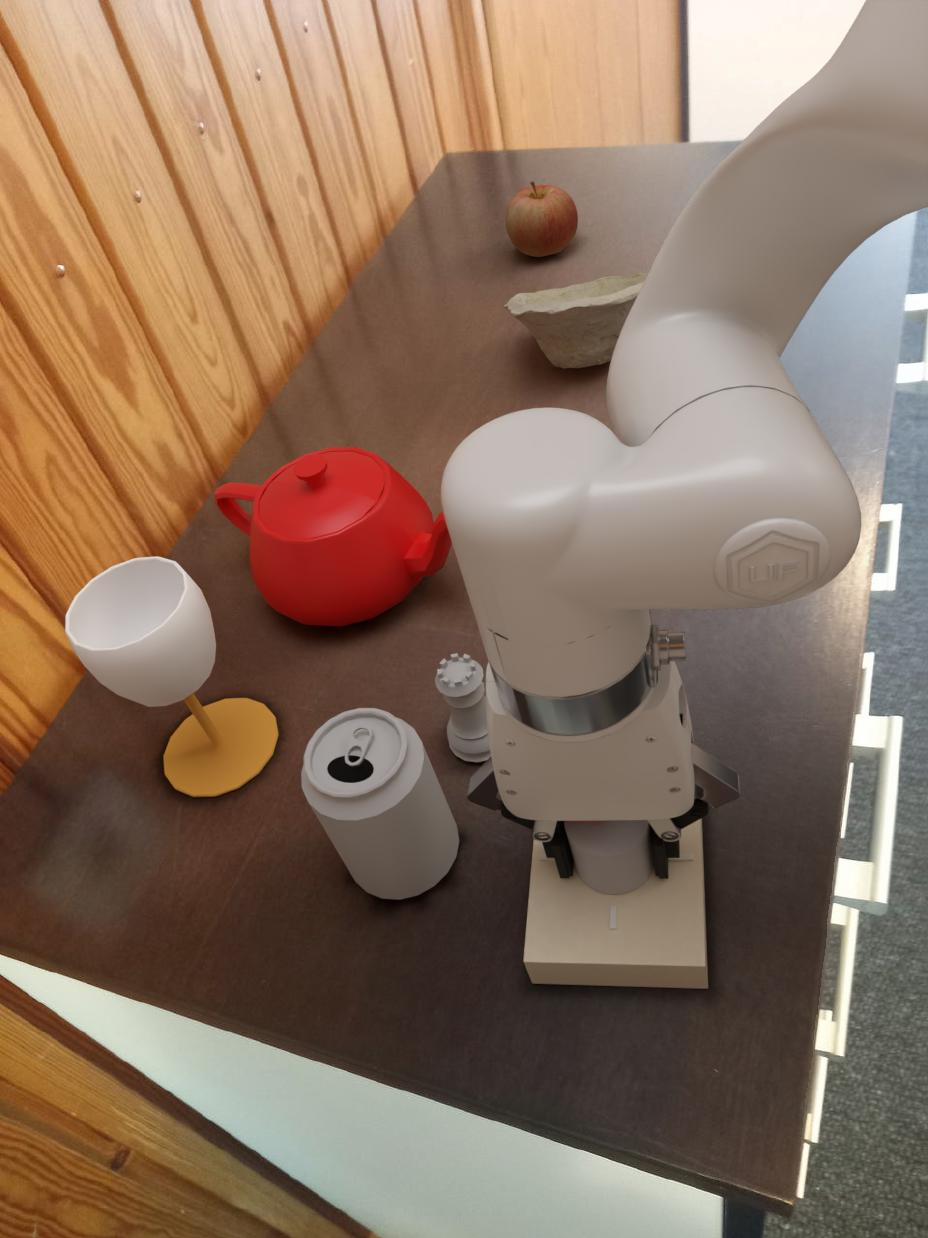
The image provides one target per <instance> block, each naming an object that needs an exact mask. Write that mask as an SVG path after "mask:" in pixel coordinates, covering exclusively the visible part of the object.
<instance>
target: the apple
mask: <svg viewBox="0 0 928 1238" xmlns="http://www.w3.org/2000/svg"><path fill="white" fill-rule="evenodd" d="M529 183H530V185H531V186H527V187H524V188H522V189H520V190H519V191H518V192H516V193H515V195H514V196H513V197H512V198H511V199H510V201H509V202H508V204H507V207H506V211H505V229H506V233H507V236H508V238H509V240H510V242H511V243H512V244H513V246H514V247H515V248H516V249H517V250H518V251H519V252H521V253H523V255H527V256H530V257H536V258H541V257H542V258H543V257H546V256H551V255H556V254H558V253H560V252H562V251H563V250H564V249H566V248H567V247H568V246H569V244H571V242H572V241H573V239H574V238H575V236H576V234H577V229H578V224H579V217H578V210H577V205H576V203H575V202H574V199H573V198H572V197H571V195H570V194H569V193H568V192H567V191H565V190H564V189H562V188H560V187H558V186H555V185H549V184H537V185H536V184H535V181H533V180H531V181H530V182H529Z"/></svg>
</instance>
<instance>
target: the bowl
mask: <svg viewBox="0 0 928 1238" xmlns="http://www.w3.org/2000/svg"><path fill="white" fill-rule="evenodd" d="M647 275H648V273H645V272H635V273H630V274H623V275H612V276H611V275H610V276H603V277H600V278H597V279H595V280H590V281H587V282H583V283H577V284H576V283H575V284H572V285H568V286H565V287H559V288H550V289H543V290H538V291H535V292H520V293H516V294H515V295H513V296H512V297H510V299H509V300H508V301H507V303H506V304H504V305H503V308H505V309H507V310H508V311H509V313H510V314H511V316H512V317H513V318H515V319H516V320H518V321H519V322H520V323H522V325H524V327H525V328H526V329H527V330H528V332H529V333H531V335H532V336H533V337H534V338H535V340H536V342H537V344H538V346H539V348H540V350H541V351H542V352H543V354H544V355H545V358H547V359H548V361H549V362H550V363H551V364H552V365H553V366H554V367H558V368H562V369H569V368H570V369H583V368H587V367H592V366H597V365H598V366H599V365H603V364H606V363H609V362H611V358H612V355H613V352H614V349H615V346H616V343H617V340H618V338H619V335H620V333H621V330H622V328H623V326H624V323H625V321H626V319H627V316H628V314H629V312H630V310H631V308H632V306H633V304H634V302H635V300H636V298H637V296H638V294H639V292H640V290H641V288H642V286H643V284H644V281H645V279H646V277H647Z"/></svg>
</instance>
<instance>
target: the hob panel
mask: <svg viewBox="0 0 928 1238" xmlns="http://www.w3.org/2000/svg"><path fill="white" fill-rule="evenodd" d="M703 837H704V836H703V818H701V819H699V820H697V821H696V822H694V823H692V824H690V825H688V826H687V827H685V828H683V829H681V838H680V839H679V844H680V858H668V875H669V877H668V879H659V876H656V875H655V869H654V870H653V872H652V874H651V876H650V877H649V879H648V880H647V881H646V882H645V883H644V884H643V885H642V886H640V887H639V888H637V889H635V890H633V891H631V892H628V893H625V894H617V895H612V894H605V893H601V892H598V891H596V890H594V889H592V888H591V887H589V886H588V885H587V884H585V883H584V882H583V880H582V879H581V878H580V876H579V875H578V873H577V870H576V867H575V863H574V864H573V876H570V878H560V876H559V872H558V869H557V866H556V862H555V859H554V858H547V857H546V854H545V850H544V847H543V844H542V842H539V841H536V840H534V839H533V840H532V841H533V844H532V853H531V863H530V865H531V868H530V877H529V890H528V899H527V900H528V901H527V912H526V925H525V937H524V948H523V959H522V960H523V961H522V962H523V965H524V966H525V969H526V972H527V974H528V977H529V979H530V982H531V984H536V985H537V984H538V985H564V986H565V985H566V986H567V985H570V986H571V985H572V986H603V987H634V988H635V987H637V988H640V987H641V988H666V989H667V988H669V989H670V988H672V989H673V988H674V989H701V990H702V989H703V990H704V989H706V990H708V989H709V974H708V946H707V922H706V920H707V919H706V895H705V893H706V892H705V890H706V889H705V867H704V839H703Z"/></svg>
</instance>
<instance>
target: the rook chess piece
mask: <svg viewBox="0 0 928 1238" xmlns="http://www.w3.org/2000/svg"><path fill="white" fill-rule="evenodd" d="M450 658H451V659H450V660H447V659H446V658H443V659H442V660H441V661H440V662H439V667H440V668H437V672H436V675H435V678H434V683H435V687H436V689H437V690H438V692H439V693H441V694H442V695H443V699H444V701H445V702H446V704H447V705H448V706H449V708H450V716H449V718H448V719H449V720H448V722H447V725H446V736H447V741H448V744H449V749H450V750H451V751H452V753H453V754H454V755H455V757H458V758H460V759H461V760H463V761H465V762H472V763H473V762H474V763H482V762H486V761H487V760H488V759H489V758H490V757H491V751H490V744H489V737H488V729H487V719H486V694H485V692H486V687H485V683H484V682H483V678H484V669H483V667H482V665H481V664H480V663H479V662H478V661H476V660H474V659H472V656H471V655H469V654H467V653H463V655H462V657H460V656H459V653H458V652H456V653H452V654H450Z"/></svg>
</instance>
